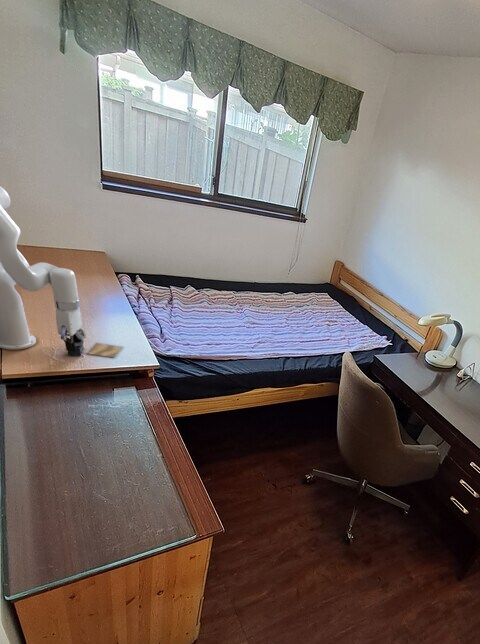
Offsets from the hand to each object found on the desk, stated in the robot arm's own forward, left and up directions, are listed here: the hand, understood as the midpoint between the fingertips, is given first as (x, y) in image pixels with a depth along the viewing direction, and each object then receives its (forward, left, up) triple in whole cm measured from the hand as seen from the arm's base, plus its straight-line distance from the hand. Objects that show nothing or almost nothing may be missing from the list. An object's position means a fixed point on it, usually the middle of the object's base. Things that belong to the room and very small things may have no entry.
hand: (74, 346), depth 150 cm
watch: (0, +1, -3) cm, 3 cm away
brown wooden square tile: (+9, +5, -3) cm, 11 cm away
